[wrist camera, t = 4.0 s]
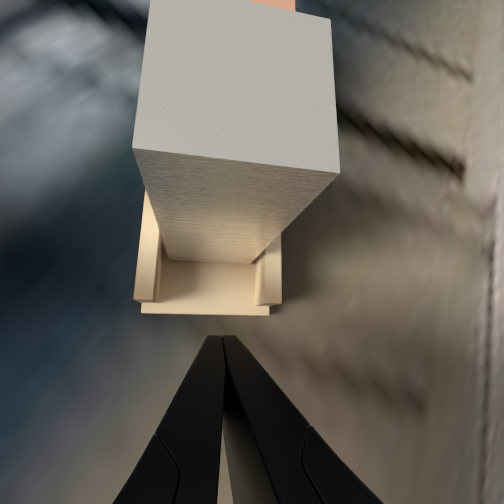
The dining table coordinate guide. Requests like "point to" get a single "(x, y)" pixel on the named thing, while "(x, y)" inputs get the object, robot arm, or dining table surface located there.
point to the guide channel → (203, 279)
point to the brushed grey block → (233, 124)
